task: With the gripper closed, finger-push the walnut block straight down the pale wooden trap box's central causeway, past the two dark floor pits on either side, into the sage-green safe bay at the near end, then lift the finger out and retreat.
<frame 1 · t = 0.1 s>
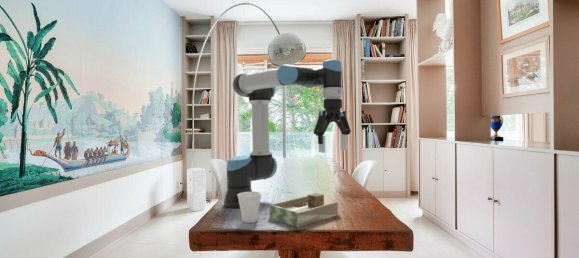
hand: (333, 151, 129), 28 cm above the table, fingers open, 13 cm apart
cup: (249, 221, 129), on the table
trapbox: (304, 216, 135), on the table
block: (315, 206, 140), point 3 cm above the table, touching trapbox
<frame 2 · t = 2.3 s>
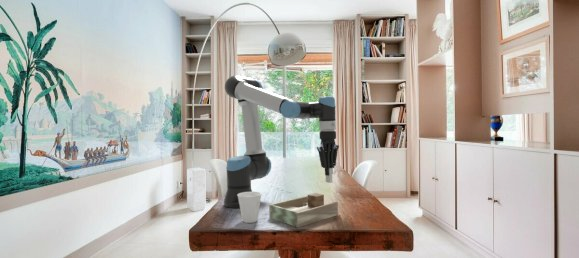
hand: (329, 182, 145), 12 cm above the table, fingers closed
nothing on the table moved.
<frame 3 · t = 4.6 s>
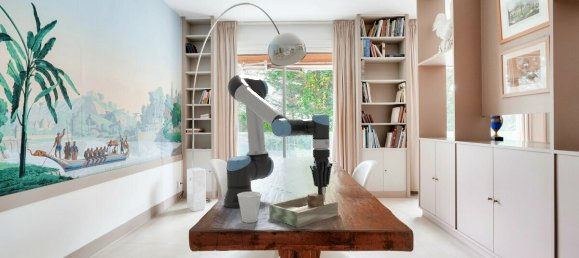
hand: (322, 201, 142), 4 cm above the table, fingers closed
block: (315, 206, 139), point 3 cm above the table, touching gripper
everything else where it was.
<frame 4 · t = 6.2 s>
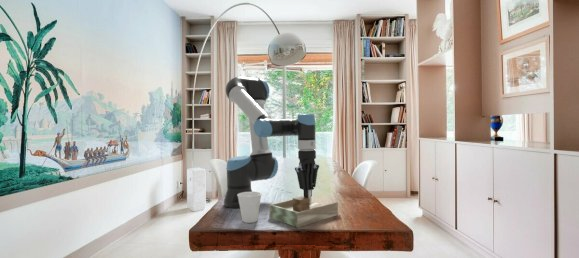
hand: (308, 204, 136), 4 cm above the table, fingers closed
block: (301, 210, 133), point 3 cm above the table, touching gripper, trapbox
everything else where it was.
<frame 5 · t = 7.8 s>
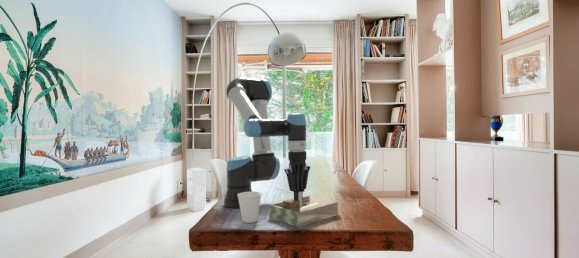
hand: (298, 207, 132), 4 cm above the table, fingers closed
block: (291, 212, 129), point 3 cm above the table, touching gripper, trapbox
everything else where it was.
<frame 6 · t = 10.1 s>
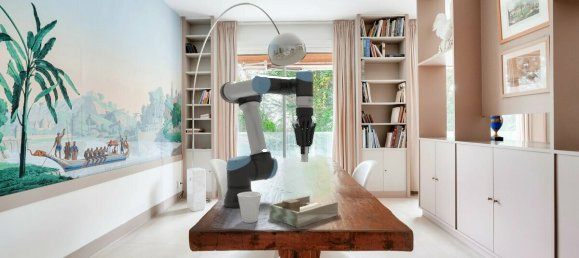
hand: (304, 161, 137), 23 cm above the table, fingers closed
block: (291, 212, 129), point 3 cm above the table, touching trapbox
everything else where it was.
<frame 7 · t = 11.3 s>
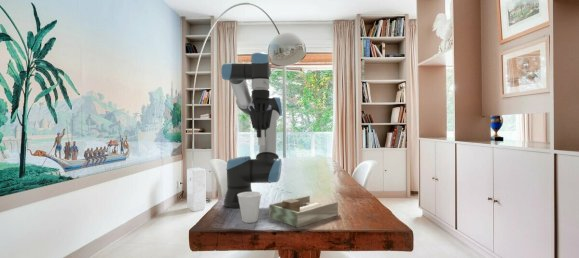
hand: (261, 145, 136), 30 cm above the table, fingers closed
nothing on the table moved.
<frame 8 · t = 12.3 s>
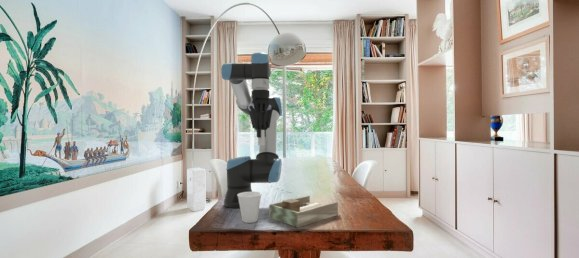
hand: (261, 145, 136), 30 cm above the table, fingers closed
nothing on the table moved.
at the end: block inside the target area (0.5 cm from its centre), point 3.0 cm above the table; block tilted 0° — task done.
